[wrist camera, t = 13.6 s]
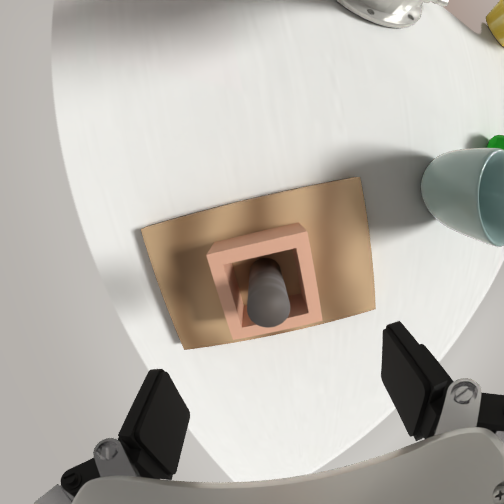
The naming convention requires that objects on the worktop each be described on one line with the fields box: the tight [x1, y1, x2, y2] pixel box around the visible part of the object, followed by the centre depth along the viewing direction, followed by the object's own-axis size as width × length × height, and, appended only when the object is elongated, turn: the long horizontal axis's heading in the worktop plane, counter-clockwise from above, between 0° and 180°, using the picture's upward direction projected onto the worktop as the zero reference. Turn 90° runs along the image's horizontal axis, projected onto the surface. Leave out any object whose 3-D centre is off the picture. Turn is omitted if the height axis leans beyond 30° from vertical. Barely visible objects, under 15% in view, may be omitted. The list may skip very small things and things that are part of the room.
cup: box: [421, 148, 504, 247], centre depth 18 cm, size 8×8×10 cm
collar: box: [206, 223, 323, 340], centre depth 22 cm, size 7×7×4 cm
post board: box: [141, 177, 376, 350], centre depth 21 cm, size 20×13×8 cm, turn 104°
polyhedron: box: [487, 135, 504, 150], centre depth 19 cm, size 5×5×5 cm
